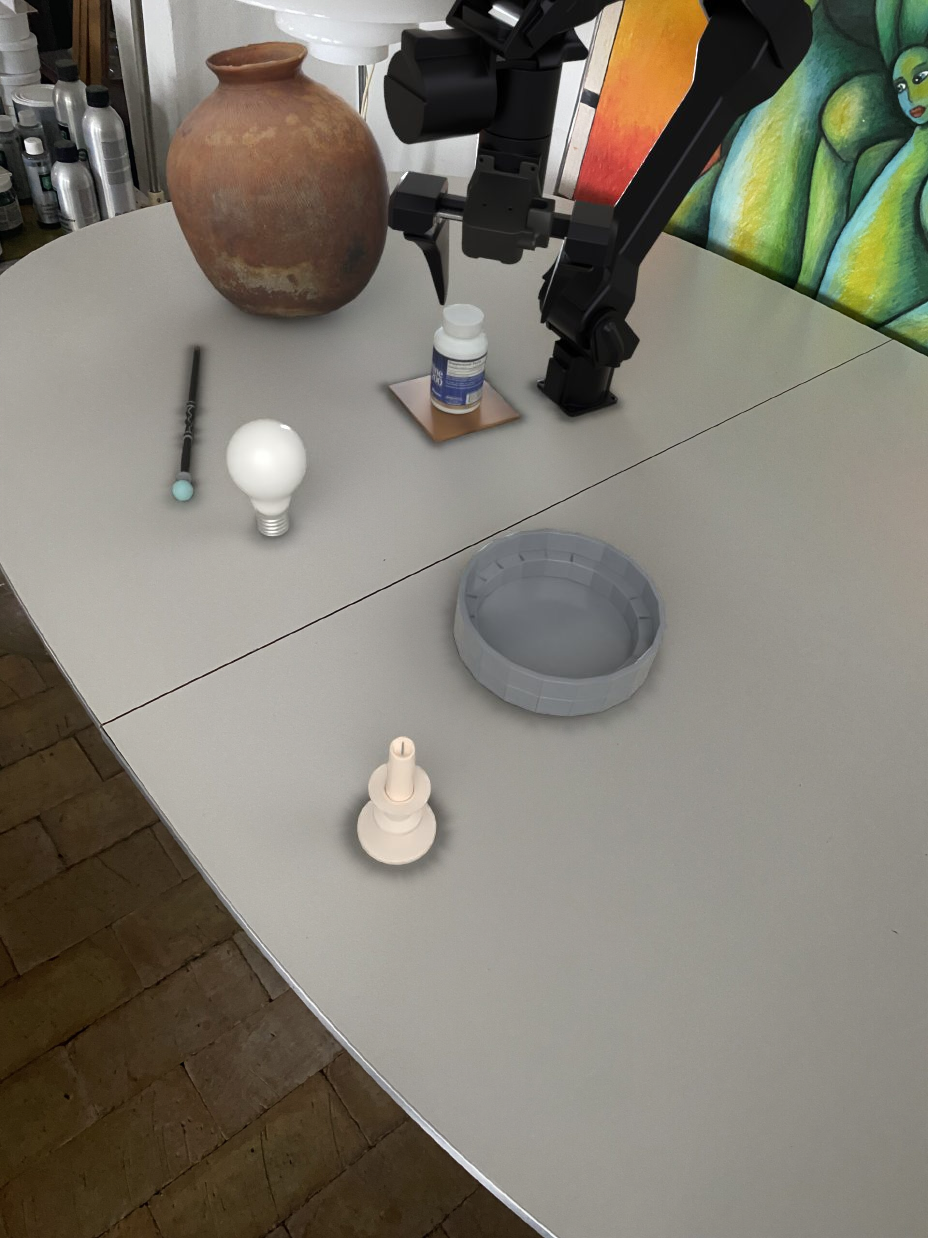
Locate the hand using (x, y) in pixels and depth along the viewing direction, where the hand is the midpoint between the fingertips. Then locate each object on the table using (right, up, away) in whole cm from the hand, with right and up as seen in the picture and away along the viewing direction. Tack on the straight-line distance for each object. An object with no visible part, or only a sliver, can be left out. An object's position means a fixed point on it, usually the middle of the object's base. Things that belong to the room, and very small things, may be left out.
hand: (492, 312), depth 79 cm
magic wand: (-29, -9, +6) cm, 31 cm away
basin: (+4, -29, -9) cm, 31 cm away
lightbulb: (-19, -20, -3) cm, 28 cm away
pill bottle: (-4, -5, +11) cm, 13 cm away
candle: (-7, -42, -21) cm, 47 cm away
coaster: (-4, -5, +11) cm, 13 cm away
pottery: (-23, +10, +23) cm, 34 cm away
